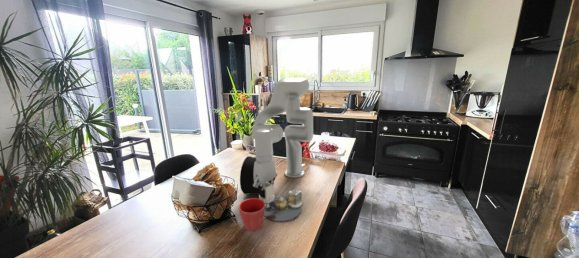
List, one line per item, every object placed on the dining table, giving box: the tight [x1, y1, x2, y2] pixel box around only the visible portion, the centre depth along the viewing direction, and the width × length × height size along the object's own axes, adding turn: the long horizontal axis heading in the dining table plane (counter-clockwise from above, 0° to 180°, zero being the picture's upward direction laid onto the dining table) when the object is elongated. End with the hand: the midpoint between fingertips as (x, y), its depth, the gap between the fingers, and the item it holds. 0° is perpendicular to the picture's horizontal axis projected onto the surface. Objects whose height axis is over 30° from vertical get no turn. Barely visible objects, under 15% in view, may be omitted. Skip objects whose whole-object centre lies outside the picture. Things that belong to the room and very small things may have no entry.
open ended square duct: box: [258, 182, 275, 203], centre depth 104 cm, size 7×7×7 cm
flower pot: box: [238, 197, 265, 231], centre depth 96 cm, size 11×11×10 cm
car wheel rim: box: [239, 155, 259, 195], centre depth 121 cm, size 20×10×20 cm, turn 168°
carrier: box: [264, 188, 304, 223], centre depth 107 cm, size 19×19×8 cm
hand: (266, 194), depth 104 cm, fingers closed on open ended square duct, 4 cm apart
